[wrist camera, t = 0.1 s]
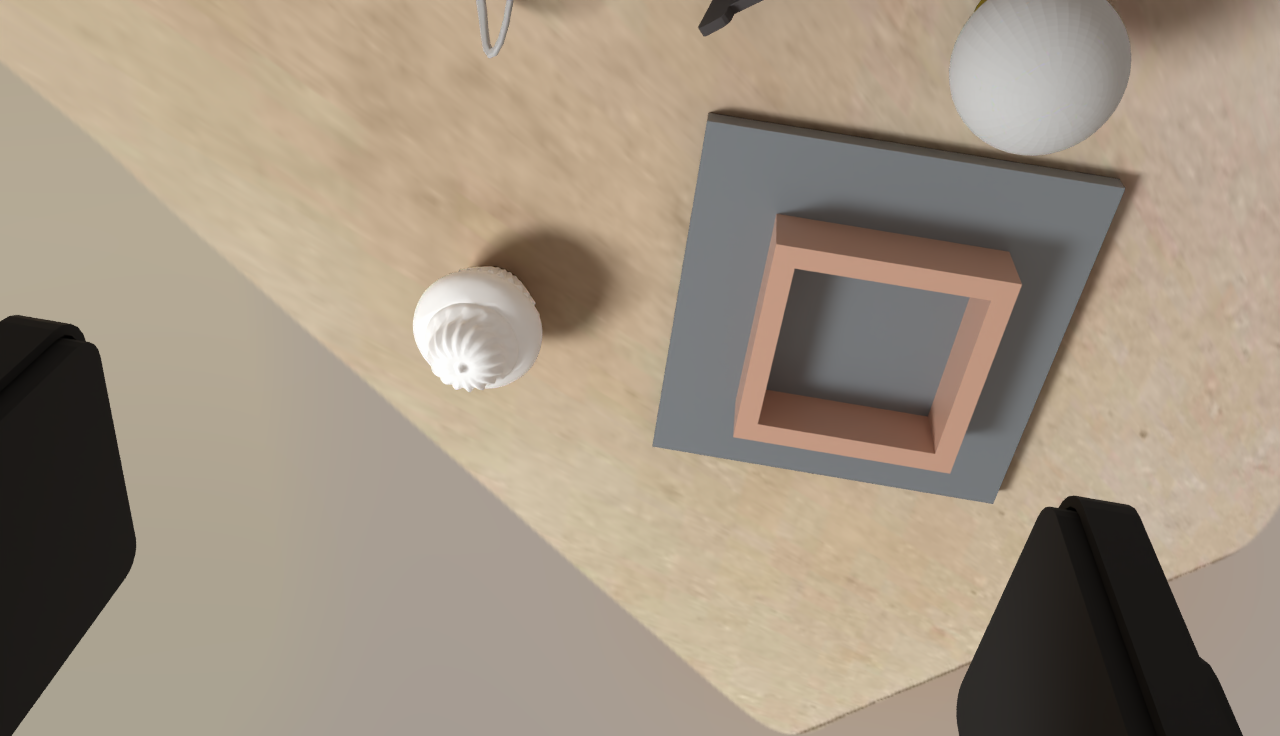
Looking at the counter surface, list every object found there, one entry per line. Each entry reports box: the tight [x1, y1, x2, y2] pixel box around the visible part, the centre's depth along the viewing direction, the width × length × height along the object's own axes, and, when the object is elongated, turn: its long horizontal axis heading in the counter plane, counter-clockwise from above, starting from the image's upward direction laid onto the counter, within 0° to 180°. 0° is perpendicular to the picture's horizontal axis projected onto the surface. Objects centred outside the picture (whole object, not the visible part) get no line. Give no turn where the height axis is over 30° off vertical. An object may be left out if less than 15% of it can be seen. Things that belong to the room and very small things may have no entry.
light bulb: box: [949, 0, 1131, 155], centre depth 38 cm, size 6×6×10 cm
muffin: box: [413, 266, 542, 392], centre depth 49 cm, size 6×6×7 cm
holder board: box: [653, 113, 1125, 504], centre depth 49 cm, size 18×18×4 cm
